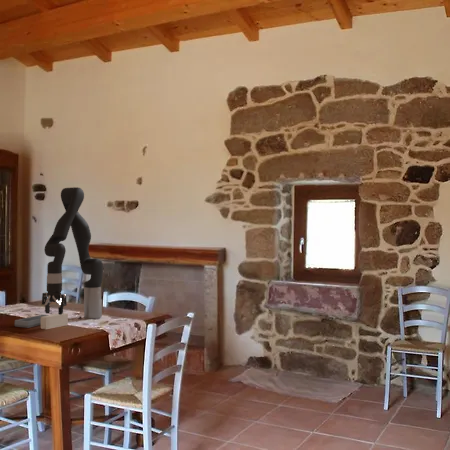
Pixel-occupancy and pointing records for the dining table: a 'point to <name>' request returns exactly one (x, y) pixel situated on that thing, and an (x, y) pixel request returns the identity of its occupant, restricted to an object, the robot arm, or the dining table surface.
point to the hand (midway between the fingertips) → (53, 313)
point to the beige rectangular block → (54, 321)
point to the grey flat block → (29, 321)
